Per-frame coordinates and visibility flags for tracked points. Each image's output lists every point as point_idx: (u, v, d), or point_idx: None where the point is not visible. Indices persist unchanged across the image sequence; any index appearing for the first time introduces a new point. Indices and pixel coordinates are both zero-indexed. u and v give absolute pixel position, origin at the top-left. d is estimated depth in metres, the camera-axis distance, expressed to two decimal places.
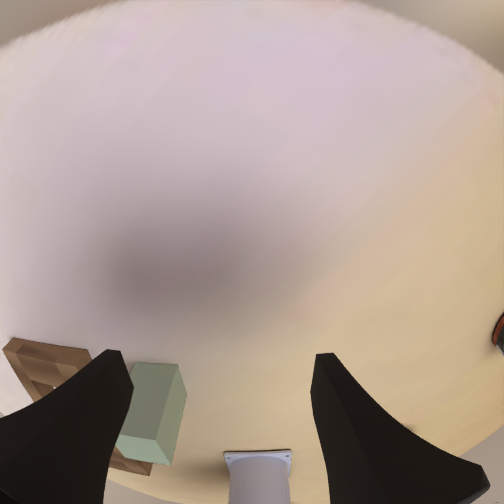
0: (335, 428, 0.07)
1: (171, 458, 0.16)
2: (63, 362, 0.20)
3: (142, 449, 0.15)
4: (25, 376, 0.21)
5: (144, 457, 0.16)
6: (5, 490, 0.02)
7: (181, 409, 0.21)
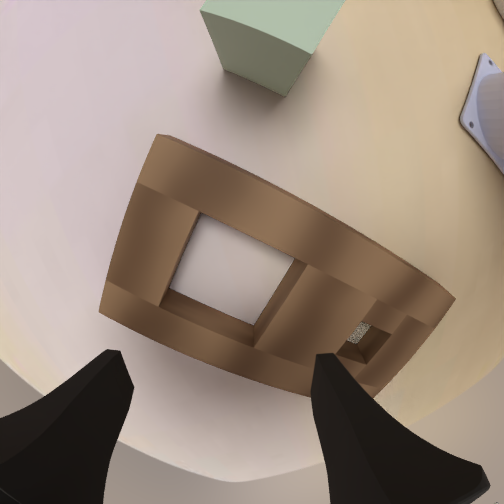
0: (335, 428, 0.07)
1: None
2: (145, 164, 0.14)
3: None
4: (150, 311, 0.17)
5: (315, 3, 0.06)
6: (5, 490, 0.02)
7: None
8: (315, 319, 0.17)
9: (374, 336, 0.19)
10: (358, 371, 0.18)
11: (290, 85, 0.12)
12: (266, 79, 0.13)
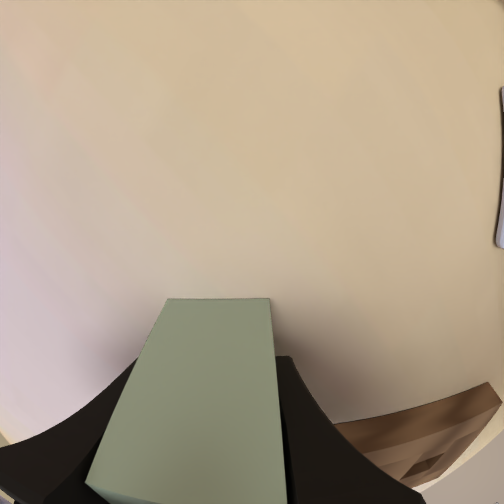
0: None
1: (269, 488, 0.04)
2: None
3: None
4: None
5: None
6: None
7: (256, 334, 0.09)
8: None
9: None
10: (424, 473, 0.14)
11: None
12: None
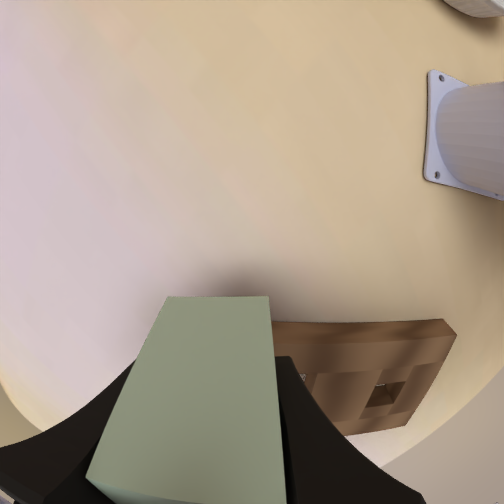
0: (281, 433, 0.07)
1: (269, 482, 0.04)
2: None
3: None
4: None
5: None
6: None
7: (255, 331, 0.09)
8: (338, 397, 0.19)
9: None
10: (389, 409, 0.20)
11: None
12: None
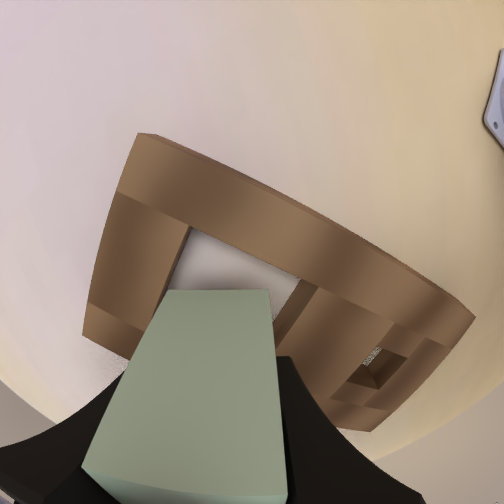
0: None
1: (269, 472, 0.04)
2: (125, 169, 0.11)
3: None
4: (137, 337, 0.14)
5: None
6: None
7: (255, 322, 0.09)
8: (325, 346, 0.14)
9: (387, 358, 0.17)
10: (369, 396, 0.16)
11: None
12: None
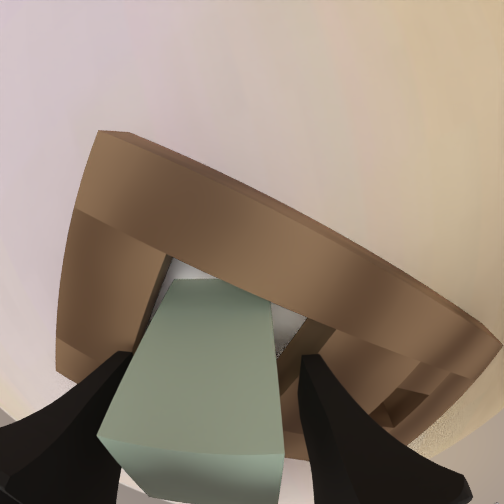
0: (318, 430, 0.07)
1: (268, 433, 0.05)
2: (84, 179, 0.08)
3: (189, 479, 0.05)
4: None
5: (247, 486, 0.05)
6: (20, 500, 0.02)
7: (255, 306, 0.10)
8: None
9: (405, 393, 0.13)
10: None
11: None
12: None
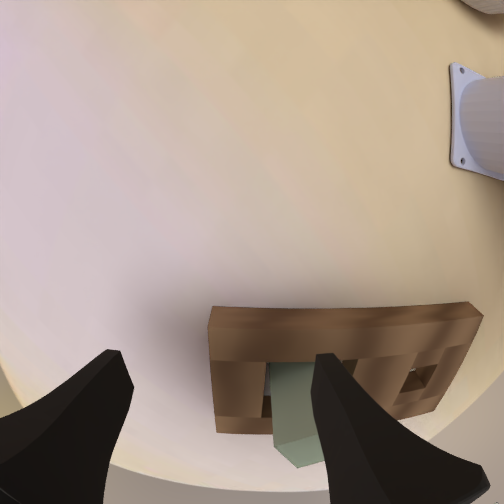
0: (335, 428, 0.07)
1: None
2: (209, 346, 0.18)
3: (312, 448, 0.14)
4: (256, 421, 0.20)
5: None
6: (5, 490, 0.02)
7: None
8: (375, 383, 0.19)
9: None
10: (420, 393, 0.20)
11: None
12: None
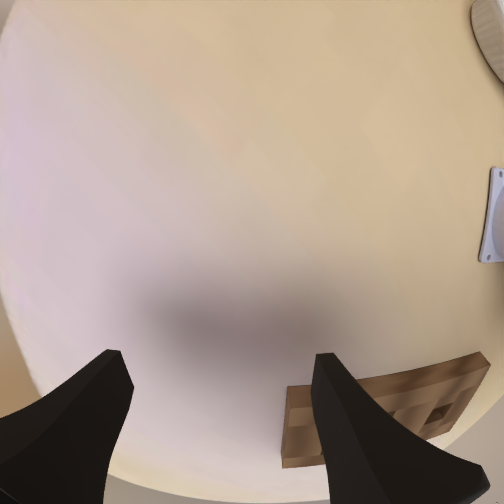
0: (335, 428, 0.07)
1: None
2: (288, 418, 0.21)
3: None
4: (315, 457, 0.23)
5: None
6: (5, 490, 0.02)
7: None
8: (407, 422, 0.22)
9: None
10: (439, 422, 0.22)
11: None
12: None
